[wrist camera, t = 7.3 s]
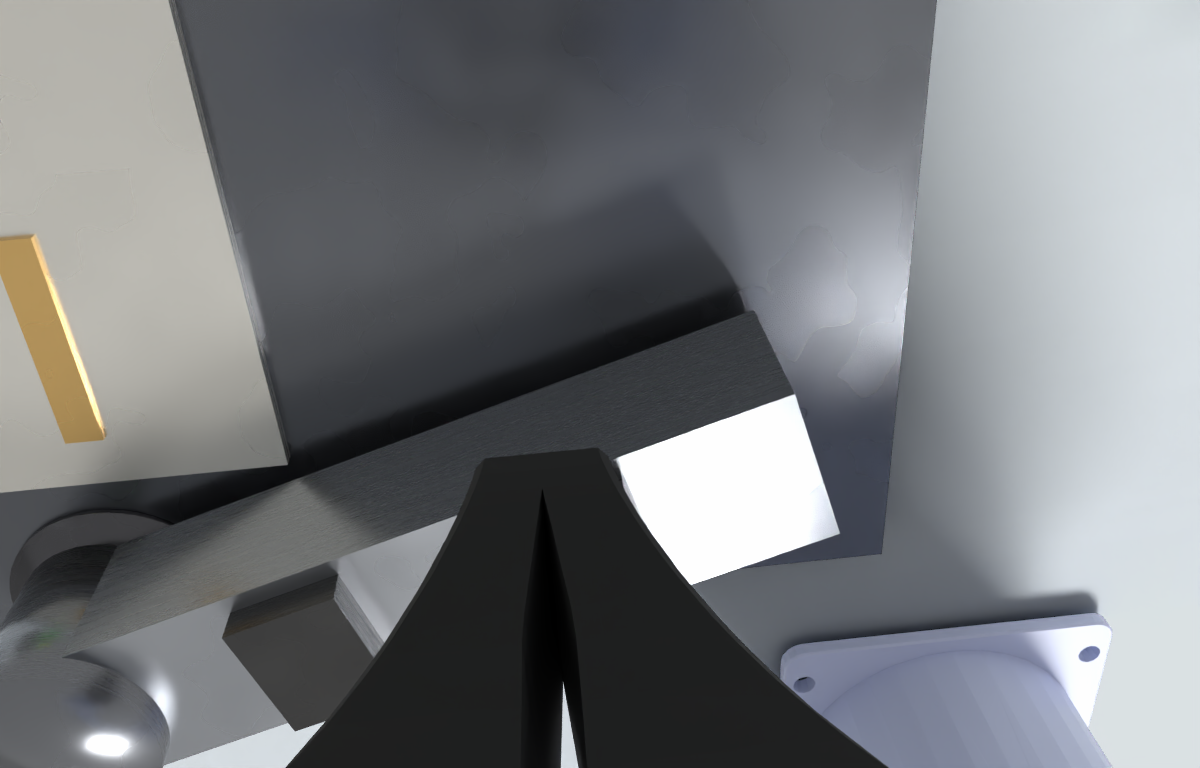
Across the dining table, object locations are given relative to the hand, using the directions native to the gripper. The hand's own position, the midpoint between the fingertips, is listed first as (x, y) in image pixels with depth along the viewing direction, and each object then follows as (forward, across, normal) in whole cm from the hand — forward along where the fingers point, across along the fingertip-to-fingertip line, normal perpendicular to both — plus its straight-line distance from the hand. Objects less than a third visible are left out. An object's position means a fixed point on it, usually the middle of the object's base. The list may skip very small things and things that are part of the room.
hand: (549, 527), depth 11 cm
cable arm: (+8, +3, +5) cm, 10 cm away
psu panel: (+9, +3, 0) cm, 9 cm away
